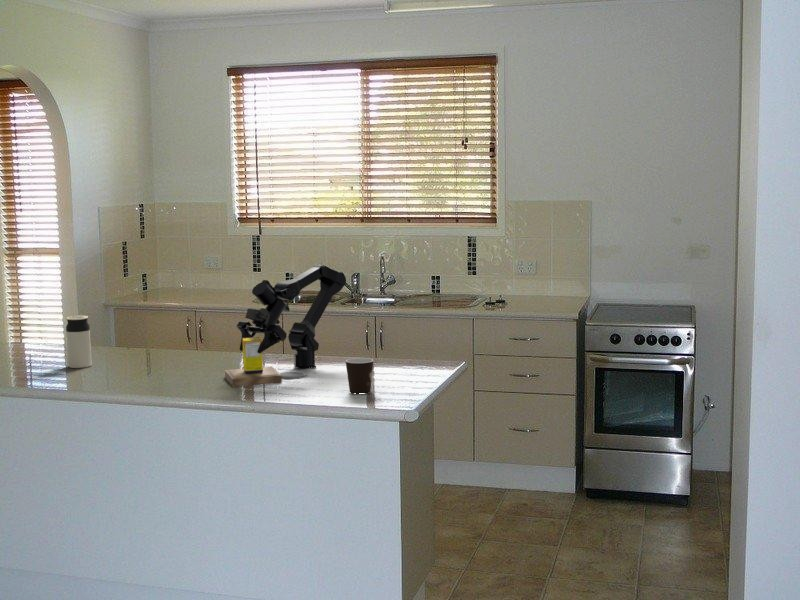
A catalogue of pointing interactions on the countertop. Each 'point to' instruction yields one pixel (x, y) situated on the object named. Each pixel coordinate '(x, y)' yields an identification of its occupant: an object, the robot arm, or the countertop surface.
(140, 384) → the countertop surface
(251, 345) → the supplement box
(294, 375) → the grey coaster
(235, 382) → the walnut stand
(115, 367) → the countertop surface
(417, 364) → the countertop surface
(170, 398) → the countertop surface
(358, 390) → the coffee mug
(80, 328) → the travel mug
